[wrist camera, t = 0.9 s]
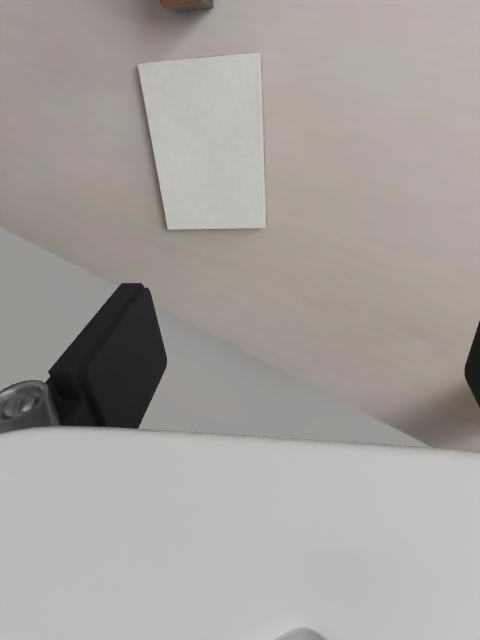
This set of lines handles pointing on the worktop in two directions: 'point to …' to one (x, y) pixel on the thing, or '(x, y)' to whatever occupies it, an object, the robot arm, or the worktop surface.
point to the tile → (208, 139)
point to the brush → (186, 5)
